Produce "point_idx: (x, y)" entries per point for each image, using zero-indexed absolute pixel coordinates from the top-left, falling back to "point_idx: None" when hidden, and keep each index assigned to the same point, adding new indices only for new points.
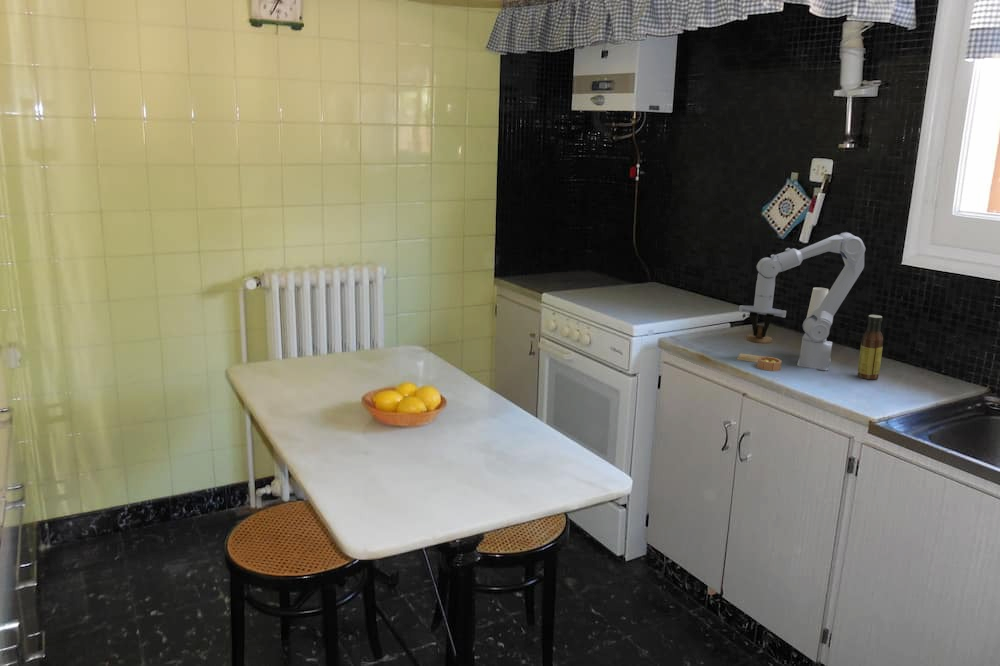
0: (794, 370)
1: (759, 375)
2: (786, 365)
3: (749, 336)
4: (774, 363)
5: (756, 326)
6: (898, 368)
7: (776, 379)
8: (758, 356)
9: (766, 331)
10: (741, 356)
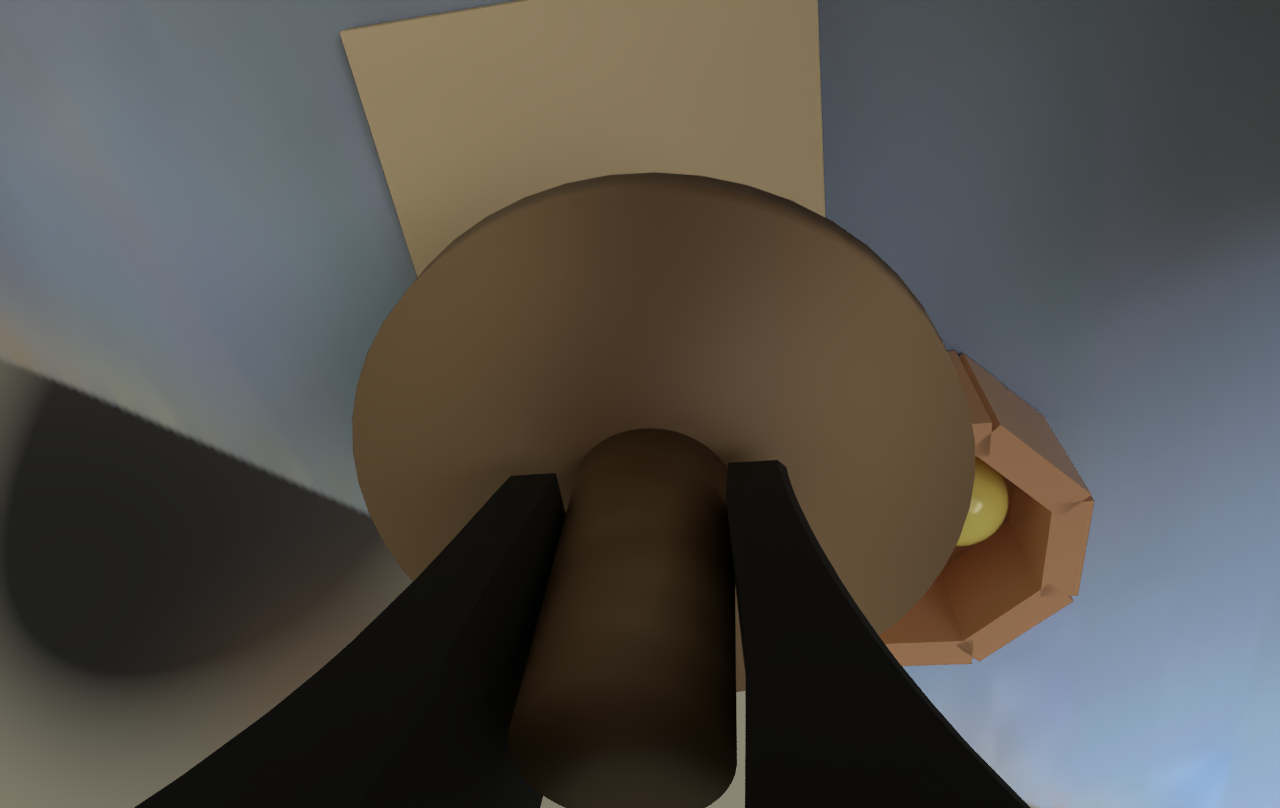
0: (1249, 358)
1: None
2: (1147, 174)
3: (441, 503)
4: (988, 651)
5: (504, 724)
6: None
7: (1001, 731)
8: (653, 26)
9: (808, 529)
10: (438, 220)
